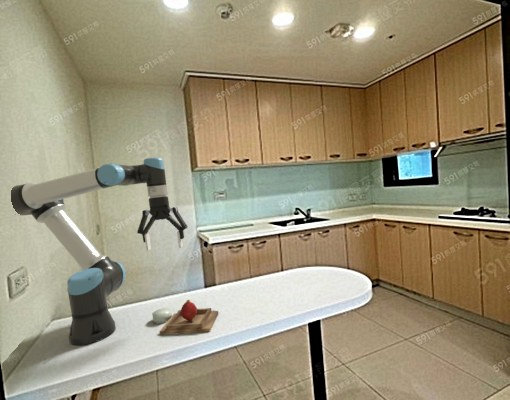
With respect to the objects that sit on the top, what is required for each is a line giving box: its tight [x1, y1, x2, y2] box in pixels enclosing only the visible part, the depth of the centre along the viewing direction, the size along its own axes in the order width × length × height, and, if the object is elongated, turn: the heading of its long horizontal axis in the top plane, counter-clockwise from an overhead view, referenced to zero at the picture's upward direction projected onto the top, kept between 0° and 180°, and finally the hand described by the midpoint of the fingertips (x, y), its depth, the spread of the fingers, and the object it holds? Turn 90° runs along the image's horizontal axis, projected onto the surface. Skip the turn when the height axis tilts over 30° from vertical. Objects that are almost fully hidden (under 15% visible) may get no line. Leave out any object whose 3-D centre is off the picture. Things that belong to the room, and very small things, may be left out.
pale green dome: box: [152, 307, 173, 325], centre depth 119 cm, size 7×7×3 cm
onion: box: [180, 299, 198, 321], centre depth 112 cm, size 6×6×8 cm
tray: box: [159, 307, 219, 335], centre depth 113 cm, size 18×14×3 cm
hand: (164, 248), depth 123 cm, fingers open, 13 cm apart
